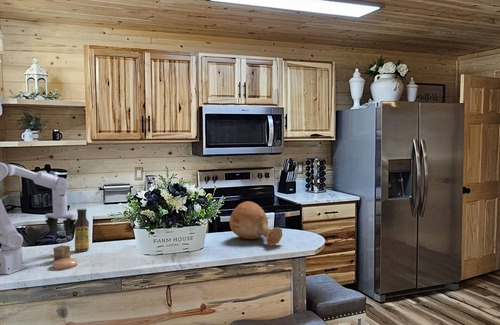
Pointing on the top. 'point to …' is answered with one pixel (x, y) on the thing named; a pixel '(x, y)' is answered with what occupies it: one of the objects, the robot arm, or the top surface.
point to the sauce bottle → (81, 231)
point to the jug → (253, 223)
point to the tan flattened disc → (64, 263)
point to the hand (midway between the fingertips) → (61, 235)
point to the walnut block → (61, 252)
